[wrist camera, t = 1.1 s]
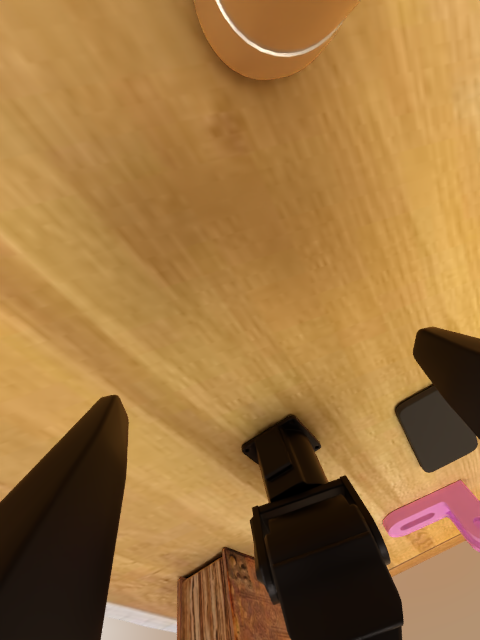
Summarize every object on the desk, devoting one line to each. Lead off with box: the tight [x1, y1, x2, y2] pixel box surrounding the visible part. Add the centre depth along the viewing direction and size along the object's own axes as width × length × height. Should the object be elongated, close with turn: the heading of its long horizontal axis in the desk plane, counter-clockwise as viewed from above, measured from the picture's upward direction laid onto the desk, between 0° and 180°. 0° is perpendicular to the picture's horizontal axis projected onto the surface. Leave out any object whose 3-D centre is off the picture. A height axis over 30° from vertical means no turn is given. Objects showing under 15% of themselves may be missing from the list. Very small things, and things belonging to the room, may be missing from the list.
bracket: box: [383, 480, 480, 552], centre depth 41 cm, size 13×6×7 cm, turn 118°
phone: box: [396, 386, 478, 473], centre depth 34 cm, size 7×1×15 cm
